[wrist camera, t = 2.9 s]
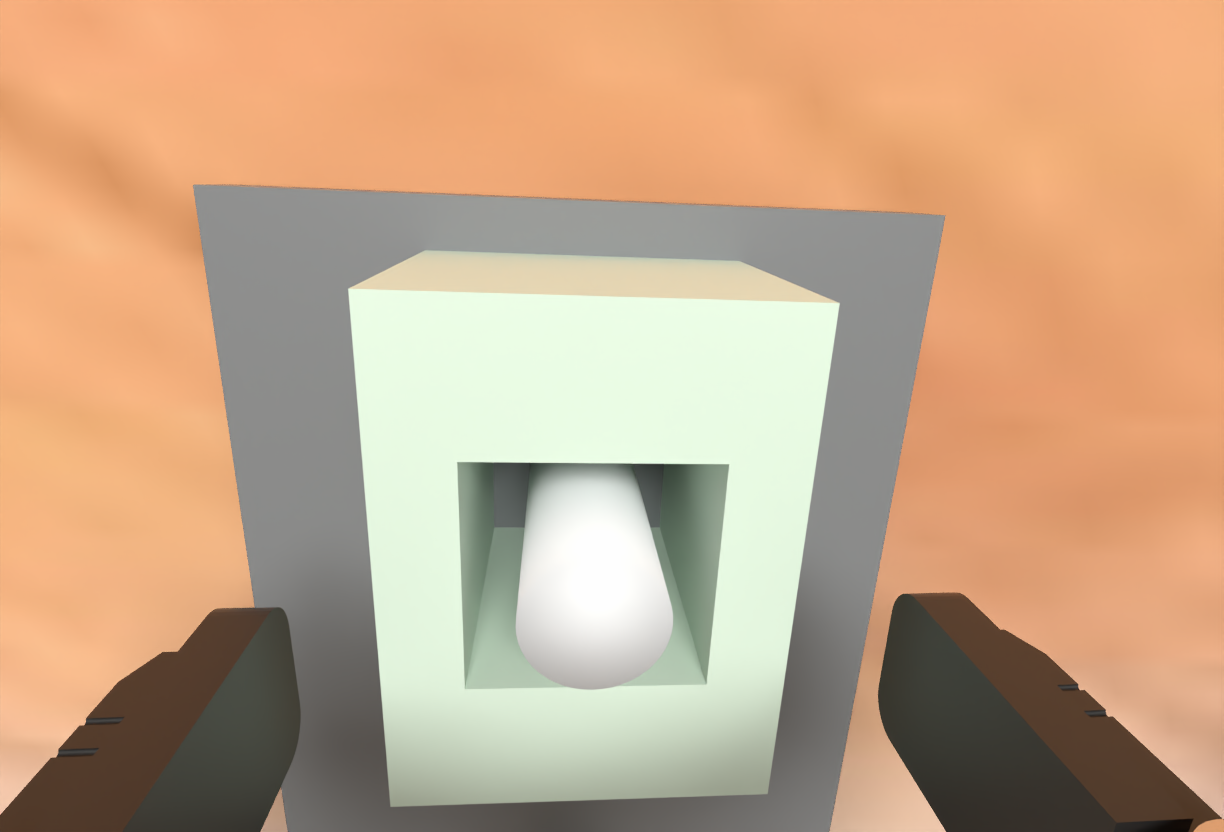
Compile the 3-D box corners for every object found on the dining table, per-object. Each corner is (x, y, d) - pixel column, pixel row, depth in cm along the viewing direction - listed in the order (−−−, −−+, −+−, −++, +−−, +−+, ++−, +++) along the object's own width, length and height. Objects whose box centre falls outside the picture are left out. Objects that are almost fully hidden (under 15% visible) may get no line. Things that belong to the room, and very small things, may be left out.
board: (231, 184, 14) (-127, 184, 6) (908, 212, 15) (1234, 238, 8) (330, 956, 21) (212, 1361, 13) (784, 932, 22) (894, 1293, 15)
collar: (425, 250, 13) (348, 288, 8) (739, 260, 13) (839, 302, 9) (441, 615, 15) (390, 806, 11) (704, 612, 16) (767, 794, 11)
